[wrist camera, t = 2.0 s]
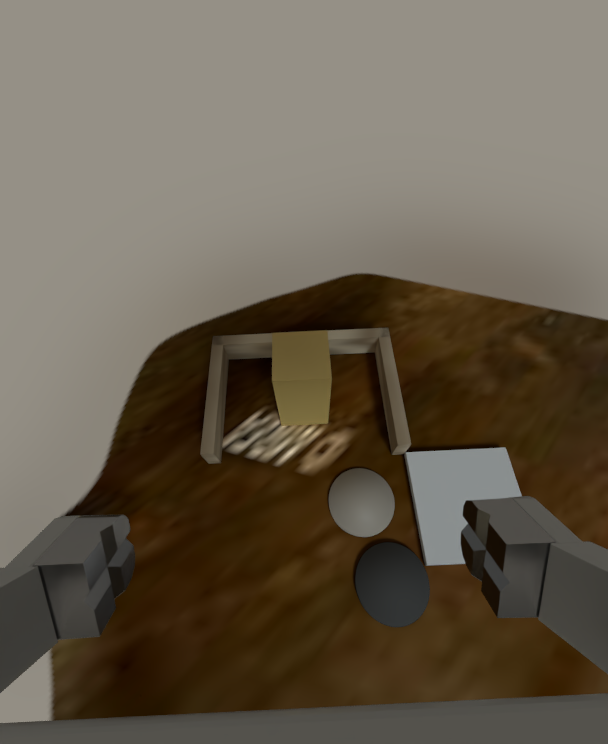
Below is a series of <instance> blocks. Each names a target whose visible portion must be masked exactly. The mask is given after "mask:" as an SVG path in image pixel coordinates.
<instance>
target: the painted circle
mask: <svg viewBox="0 0 608 744" xmlns="http://www.w3.org/2000/svg"><path fill="white" fill-rule="evenodd" d="M394 506H395V504H394V496H393V493H392V491H391V488H390V487H389V485H388V483H387V482H386V481H385V480H384V479H383V478H382V477H381V476H380V475H378V474H377V473H375V472H373V471H371V470H368V469H363V468H356V469H351V470H348V471H346V472H344V473H342V474H341V475H340V476H338V477H337V479H336V480H335V481H334V483H333V484H332V486H331V489H330V492H329V508H330V512H331V515H332V517H333V519H334V520H335V522H336V523H337V524H338V526H339V527H340V528H342V529H343V530H344V531H345V532H347V533H349V534H351V535H354V536H358V537H370V536H373V535H376V534H378V533H380V532H381V531H383V530H384V529H385V528H386V527H387V526H388V524H389V523H390V521H391V519H392V517H393V514H394Z"/></svg>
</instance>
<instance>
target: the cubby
mask: <svg viewBox="0 0 608 744" xmlns="http://www.w3.org/2000/svg"><path fill="white" fill-rule="evenodd" d="M328 342H329V353H330V355H331V354H352V353H372V352H375V357H376V363H377V369H378V375H379V381H380V387H381V393H382V399H383V405H384V411H385V417H386V423H387V429H388V435H389V441H390V447H391V453H392V455H396V454H404V453H405V452H406V451H407V449H408V448H409V446H410V445H411V441H410V436H409V431H408V426H407V421H406V416H405V411H404V405H403V400H402V395H401V390H400V385H399V380H398V375H397V370H396V365H395V360H394V355H393V350H392V345H391V340H390V335H389V330H388V328H371V329H350V330H330V331H328ZM269 357H272V333H268V334H247V335H227V336H213V340H212V349H211V358H210V368H209V377H208V387H207V396H206V406H205V415H204V424H203V434H202V443H201V453H200V454H201V456H202V457H203V458H204V459H205V460H206V461H207V462H208V463H221V456H222V443H223V429H224V416H225V403H226V390H227V377H228V363H229V359H249V358H269Z"/></svg>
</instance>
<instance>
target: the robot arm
mask: <svg viewBox="0 0 608 744" xmlns="http://www.w3.org/2000/svg"><path fill="white" fill-rule="evenodd" d="M463 517H464V518H465V520H466V521H467V523H468V524H467V525H466V526H465V527H464V529H463V530H462V531H461V549H462V555H463V558H464V561H465V563H466V566H467V568H468V569H469V571H470V573H471V574H472V575H473V576H475V577H476V578H477V579H479V580H480V581H482V588H481V591H482V593H483V595H484V596H485V598H486V600H487V601H488V603H489V605H490V606H491V608H492V610H493V611H494V613H495V615H496V616H497V618H522V617H539V618H538V620H540V621H541V622H542V623H544V624H545V625H546V626H547V627H549V628H550V629H551V630H552V631H554V632H555V633H556V634H558V635H559V636H560V637H561V638H563V639H564V640H565V641H566V642H568V643H569V644H570V645H572V646H573V647H574V648H575V649H577V650H578V651H579V652H580V653H582V654H583V655H584V656H586V657H587V658H588V659H589V660H591V661H592V662H593V663H594V664H596V665H597V666H598V667H600V668H601V669H602V670H603V671H605V672H606V673H607V674H608V550H607V549H605V548H603V547H601V546H598V545H596V544H594V543H592V542H582V541H581V540H580V539H579V538H578V537H577V536H575V535H574V534H573V533H572V532H571V531H570V530H569V529H568V528H567V527H566V526H565V525H563V524H562V523H561V522H560V521H559V520H558V519H557V518H556V517H555V516H554V515H552V514H551V513H550V512H549V511H548V510H547V509H546V508H545V507H544V506H543V505H541V504H540V503H539V502H538V501H537V500H536V499H535V498H532V497H530V496H521V497H508V498H500V499H482V500H466V502H465V504H464V506H463ZM129 532H130V525H129V521H128V518H127V517H126V516H124V515H87V516H62V517H59V518H56V519H54V520H53V521H52V522H51V523H50V524H49V525H48V526H47V527H46V528H45V529H44V530H43V531H42V532H41V533H40V534H39V535H38V536H37V537H36V538H35V539H34V540H33V541H32V542H31V543H30V544H29V545H28V546H27V547H25V548H24V549H23V550H22V552H20V553H19V554H18V555H17V556H16V557H15V558H14V559H13V560H12V561H11V562H10V563H9V564H8V565H7V566H6V567H5V568H0V693H1V692H2V691H3V690H4V689H5V688H6V687H8V686H9V685H10V684H11V683H12V682H13V681H14V680H16V679H17V678H18V677H19V676H20V675H21V674H22V673H23V672H25V671H26V670H27V669H28V668H29V667H30V666H31V665H33V664H34V663H35V662H36V661H37V660H38V659H39V658H40V657H42V656H43V654H45V653H46V652H47V651H48V650H50V649H51V648H52V647H53V646H54V645H55V644H56V643H57V642H58V640H61V639H74V638H87V637H99V636H100V635H101V633H102V632H103V630H104V628H105V626H106V624H107V623H108V621H109V619H110V617H111V615H112V614H113V612H114V610H115V608H116V606H115V601H114V599H115V598H116V597H117V596H119V595H120V594H121V593H122V592H124V591H125V590H126V588H127V586H128V584H129V582H130V581H131V578H132V574H133V570H134V566H135V552H134V546H133V545H132V544H131V543H130V542H129V541H128V540H127V539H126V537H127V535H128V533H129ZM0 744H608V693H607V694H587V695H566V696H546V697H525V698H505V699H484V700H464V701H443V702H423V703H402V704H382V705H361V706H341V707H321V708H301V709H280V710H260V711H240V712H219V713H199V714H179V715H159V716H138V717H118V718H98V719H78V720H57V721H37V722H18V723H0Z"/></svg>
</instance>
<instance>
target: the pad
mask: <svg viewBox="0 0 608 744" xmlns="http://www.w3.org/2000/svg"><path fill="white" fill-rule="evenodd" d="M404 456H405V461H406V467H407V472H408V477H409V483H410V488H411V494H412V499H413V504H414V510H415V515H416V521H417V526H418V531H419V537H420V542H421V548H422V553H423V558H424V564H425V566H428V565H449V564H466V563H465V561H464V558H463V555H462V549H461V531H462V530H463V529H464V527H465V526H466V525H467V524H468V523H467V521H466V520H465V518H464V517H463V506H464V504H465V502H466V500H482V499H500V498H508V497H521V493H520V490H519V487H518V484H517V481H516V478H515V475H514V472H513V469H512V465H511V462H510V459H509V456H508V453H507V450H506V447H505V448H485V449H464V450H443V451H422V452H406V453H405V454H404Z"/></svg>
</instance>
